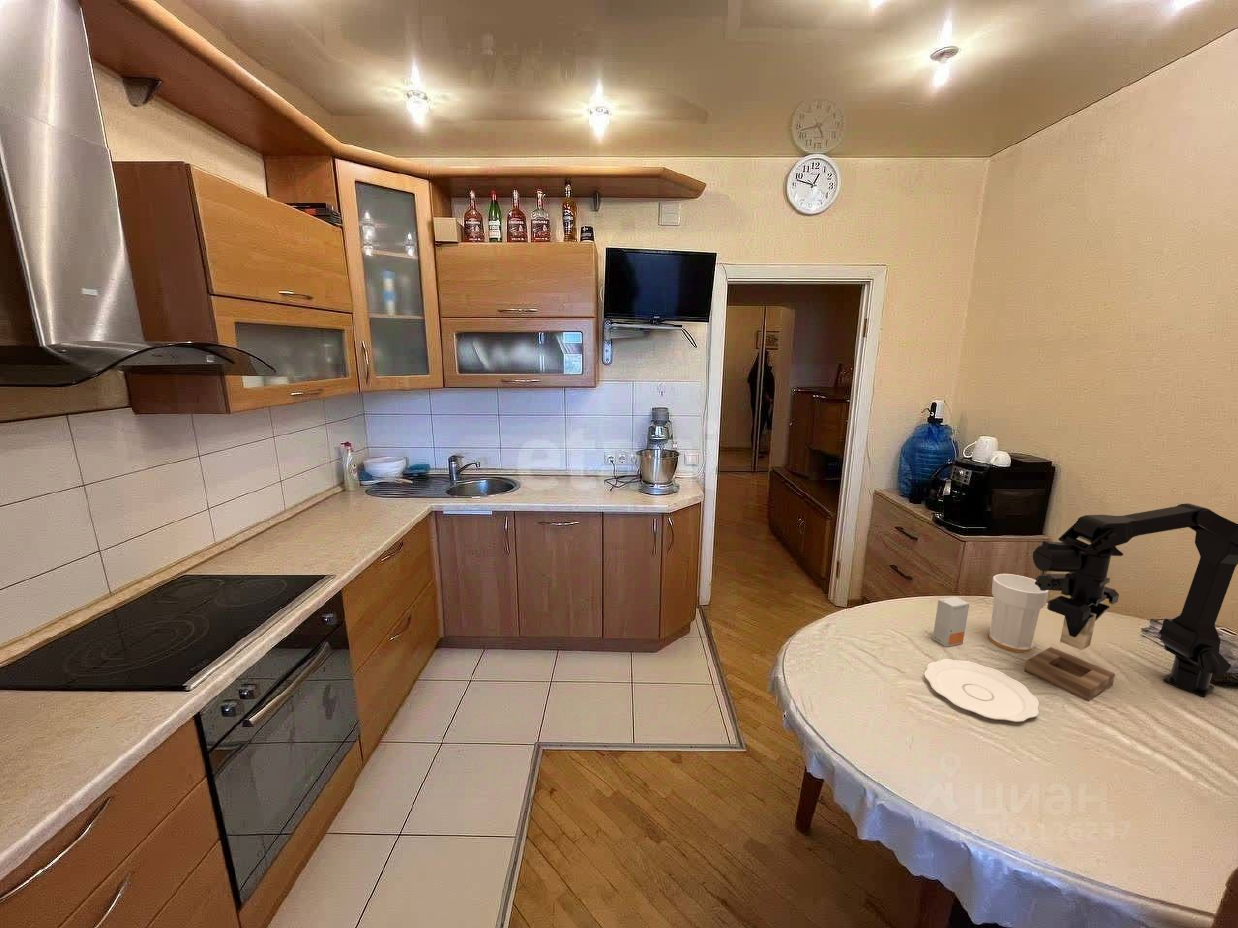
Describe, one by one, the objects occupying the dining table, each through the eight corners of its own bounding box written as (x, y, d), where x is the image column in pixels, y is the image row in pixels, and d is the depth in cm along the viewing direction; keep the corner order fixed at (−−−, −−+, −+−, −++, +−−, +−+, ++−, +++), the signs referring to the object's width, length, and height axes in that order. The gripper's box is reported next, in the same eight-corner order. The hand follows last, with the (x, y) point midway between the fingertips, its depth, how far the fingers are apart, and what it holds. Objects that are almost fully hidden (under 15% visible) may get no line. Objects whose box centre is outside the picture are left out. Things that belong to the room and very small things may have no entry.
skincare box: (946, 647, 126) (952, 606, 124) (932, 639, 130) (937, 598, 128) (964, 644, 128) (970, 603, 125) (949, 635, 132) (955, 595, 129)
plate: (1062, 733, 97) (1063, 726, 97) (948, 719, 101) (949, 712, 101) (1003, 669, 117) (1004, 663, 117) (910, 660, 121) (911, 654, 121)
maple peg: (1068, 636, 114) (1074, 606, 113) (1090, 645, 111) (1096, 614, 109) (1059, 641, 112) (1065, 610, 111) (1081, 650, 109) (1088, 618, 107)
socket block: (1048, 657, 121) (1050, 646, 121) (1112, 684, 111) (1115, 673, 110) (1024, 671, 116) (1026, 660, 116) (1088, 701, 106) (1091, 689, 105)
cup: (1049, 655, 122) (1061, 592, 119) (1005, 655, 123) (1015, 593, 119) (1014, 630, 133) (1024, 573, 130) (973, 631, 134) (982, 573, 130)
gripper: (1064, 551, 119) (1053, 608, 122) (1025, 567, 111) (1015, 627, 114) (1125, 568, 109) (1112, 629, 112) (1087, 586, 101) (1074, 651, 104)
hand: (1077, 633), depth 111 cm, fingers closed on maple peg, 4 cm apart
